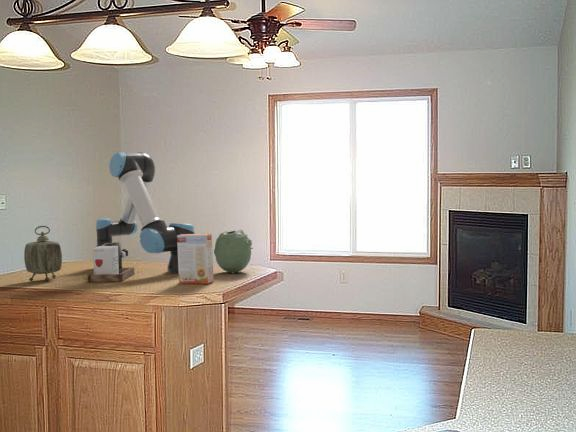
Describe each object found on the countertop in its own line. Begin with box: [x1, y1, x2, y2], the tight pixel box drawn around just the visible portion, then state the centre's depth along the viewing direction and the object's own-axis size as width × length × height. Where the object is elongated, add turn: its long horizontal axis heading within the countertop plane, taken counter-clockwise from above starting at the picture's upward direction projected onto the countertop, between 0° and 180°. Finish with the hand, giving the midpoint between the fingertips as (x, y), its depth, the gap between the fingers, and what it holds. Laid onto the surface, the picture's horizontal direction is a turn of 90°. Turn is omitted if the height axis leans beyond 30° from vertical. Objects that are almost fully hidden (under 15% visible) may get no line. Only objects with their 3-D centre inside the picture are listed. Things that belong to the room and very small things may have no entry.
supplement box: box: [92, 246, 119, 275], centre depth 302 cm, size 9×9×15 cm
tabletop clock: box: [23, 225, 63, 282], centre depth 306 cm, size 14×9×25 cm, turn 133°
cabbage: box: [213, 229, 254, 274], centre depth 313 cm, size 16×19×20 cm
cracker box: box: [177, 233, 215, 285], centre depth 287 cm, size 14×6×21 cm, turn 70°
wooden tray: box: [87, 241, 135, 283], centre depth 308 cm, size 15×23×15 cm, turn 178°
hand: (119, 255), depth 312 cm, fingers closed on wooden tray, 4 cm apart
